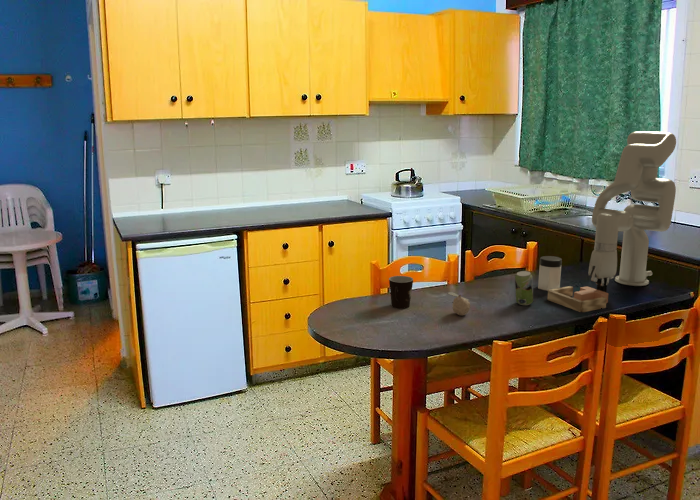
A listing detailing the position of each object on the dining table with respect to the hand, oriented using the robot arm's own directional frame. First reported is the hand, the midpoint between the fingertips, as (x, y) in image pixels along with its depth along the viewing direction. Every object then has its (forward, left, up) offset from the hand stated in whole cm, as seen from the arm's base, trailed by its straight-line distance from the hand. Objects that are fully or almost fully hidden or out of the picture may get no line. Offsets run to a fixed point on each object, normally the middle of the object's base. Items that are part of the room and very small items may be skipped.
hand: (601, 294), depth 238 cm
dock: (+12, 0, -1) cm, 12 cm away
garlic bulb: (+57, -9, -2) cm, 58 cm away
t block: (+7, 0, -1) cm, 7 cm away
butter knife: (+45, -20, -2) cm, 49 cm away
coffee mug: (+72, -26, -2) cm, 77 cm away
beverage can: (+30, -8, -2) cm, 31 cm away
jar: (+7, -19, -2) cm, 20 cm away
